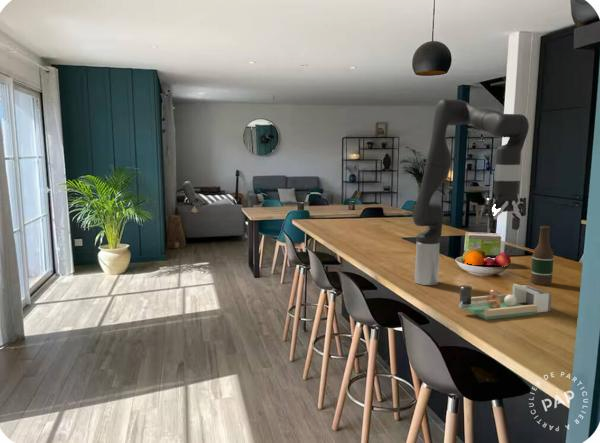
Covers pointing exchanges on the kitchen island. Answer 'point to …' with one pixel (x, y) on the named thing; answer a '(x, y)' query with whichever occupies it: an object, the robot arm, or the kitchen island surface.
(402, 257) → the kitchen island surface
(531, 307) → the pitch
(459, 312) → the kitchen island surface
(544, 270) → the beer bottle
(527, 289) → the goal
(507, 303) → the ball
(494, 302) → the striker
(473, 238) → the tea box
